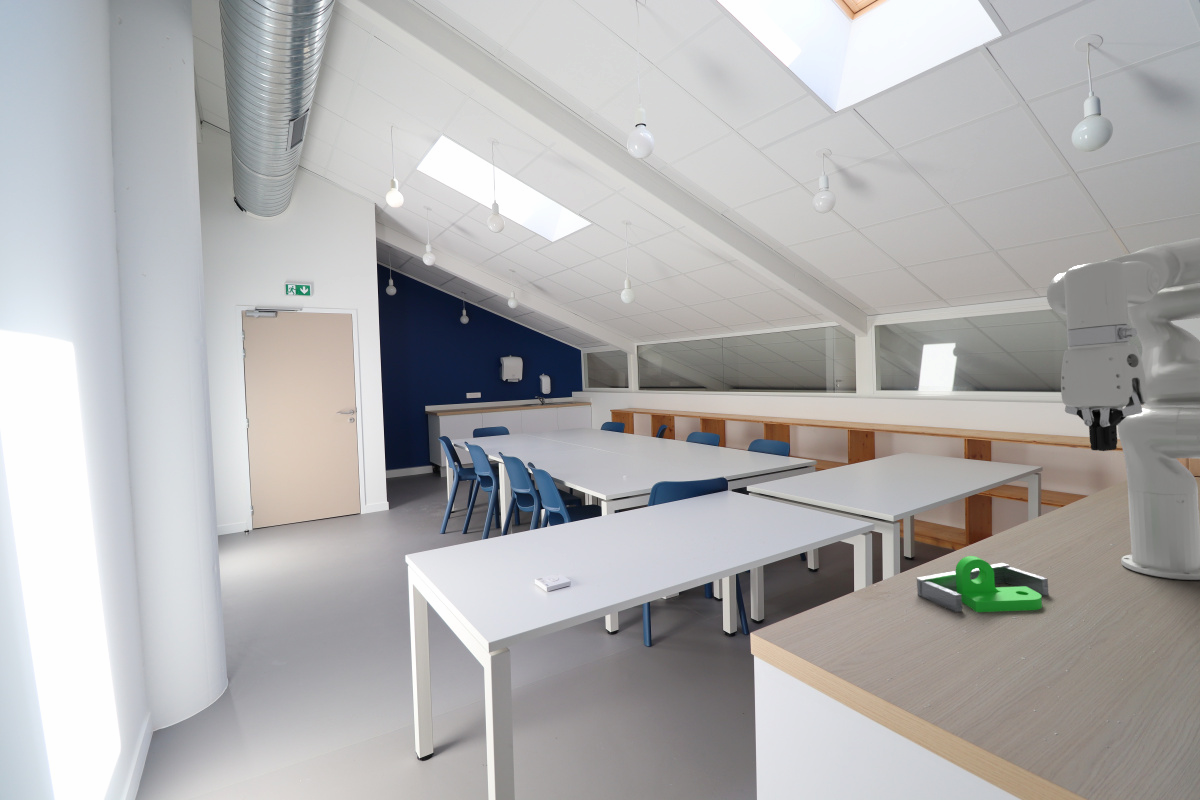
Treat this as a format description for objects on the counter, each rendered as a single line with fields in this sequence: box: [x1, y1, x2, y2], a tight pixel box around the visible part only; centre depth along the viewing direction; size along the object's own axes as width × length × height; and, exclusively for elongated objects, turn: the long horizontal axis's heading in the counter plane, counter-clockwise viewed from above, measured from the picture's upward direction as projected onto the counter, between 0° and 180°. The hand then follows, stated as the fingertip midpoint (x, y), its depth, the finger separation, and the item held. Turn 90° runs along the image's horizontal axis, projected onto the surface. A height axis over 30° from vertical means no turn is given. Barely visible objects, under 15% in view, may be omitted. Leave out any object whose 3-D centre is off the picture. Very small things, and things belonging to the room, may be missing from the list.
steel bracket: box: [916, 562, 1049, 613], centre depth 101 cm, size 20×9×3 cm, turn 103°
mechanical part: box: [955, 555, 1043, 613], centre depth 97 cm, size 12×6×8 cm, turn 85°
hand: (1103, 449), depth 90 cm, fingers closed
